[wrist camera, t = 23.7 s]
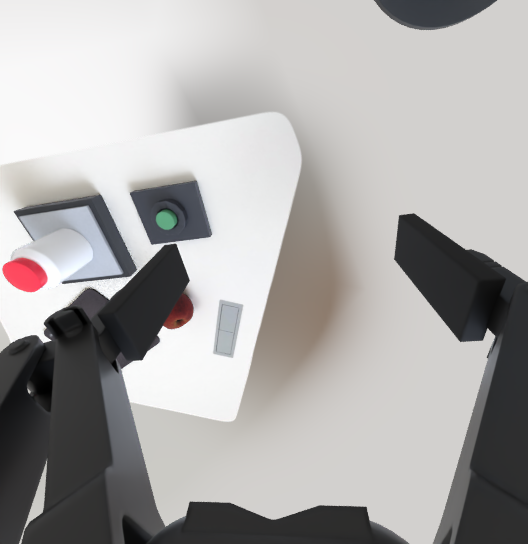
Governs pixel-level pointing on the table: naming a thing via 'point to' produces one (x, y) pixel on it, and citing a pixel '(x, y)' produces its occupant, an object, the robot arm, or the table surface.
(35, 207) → the scale
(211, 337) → the table surface
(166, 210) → the green button
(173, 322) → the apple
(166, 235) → the button base
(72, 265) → the pill bottle
